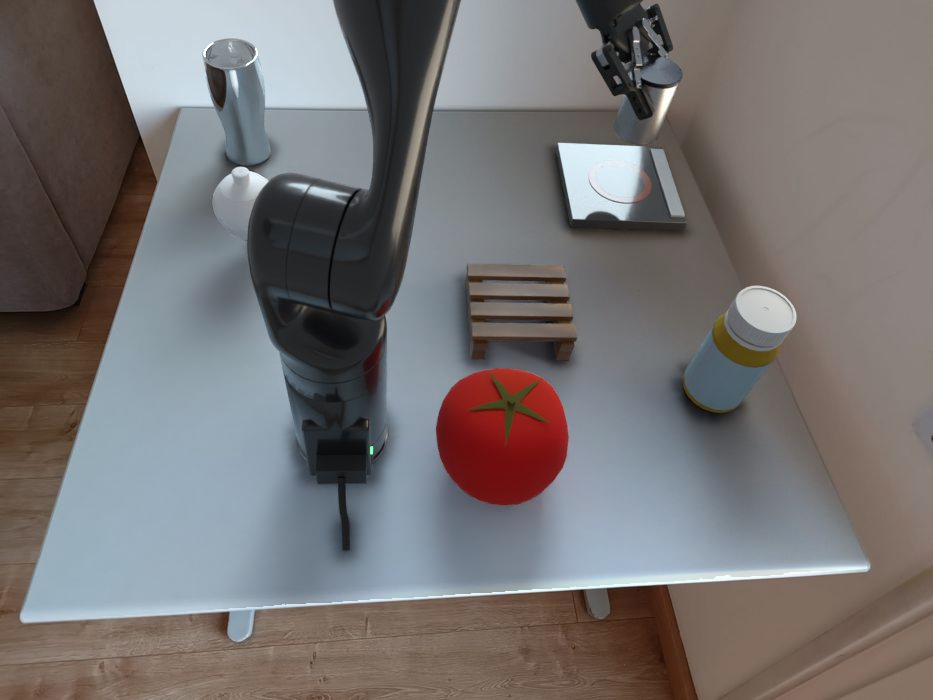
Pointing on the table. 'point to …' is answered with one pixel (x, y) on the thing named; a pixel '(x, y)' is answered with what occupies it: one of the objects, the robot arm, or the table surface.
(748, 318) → the bottle
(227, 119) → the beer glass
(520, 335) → the wooden pallet
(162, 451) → the table surface
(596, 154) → the stove
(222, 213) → the spinning top
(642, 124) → the metal canister
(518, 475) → the tomato
